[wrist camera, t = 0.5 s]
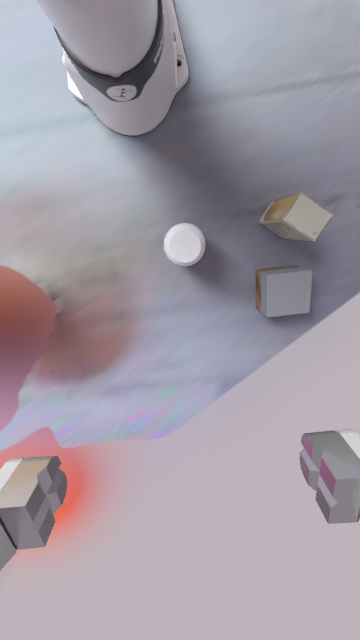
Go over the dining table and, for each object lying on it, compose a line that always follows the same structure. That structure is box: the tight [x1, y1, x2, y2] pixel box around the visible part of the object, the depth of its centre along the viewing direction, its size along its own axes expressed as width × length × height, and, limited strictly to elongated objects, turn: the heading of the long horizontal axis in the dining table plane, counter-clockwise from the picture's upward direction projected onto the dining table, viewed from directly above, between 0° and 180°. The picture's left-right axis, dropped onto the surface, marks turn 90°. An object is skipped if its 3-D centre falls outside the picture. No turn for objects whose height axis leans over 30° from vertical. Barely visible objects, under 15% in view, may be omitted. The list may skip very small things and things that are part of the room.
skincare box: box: [259, 192, 333, 241], centre depth 41 cm, size 6×4×12 cm
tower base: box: [256, 266, 299, 312], centre depth 50 cm, size 8×8×4 cm
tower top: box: [261, 267, 313, 317], centre depth 47 cm, size 8×8×4 cm
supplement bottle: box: [164, 223, 205, 266], centre depth 42 cm, size 7×7×13 cm
